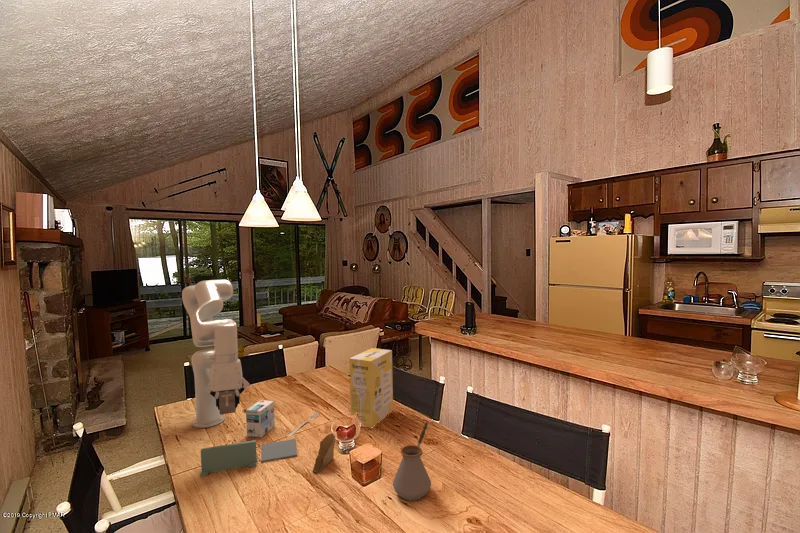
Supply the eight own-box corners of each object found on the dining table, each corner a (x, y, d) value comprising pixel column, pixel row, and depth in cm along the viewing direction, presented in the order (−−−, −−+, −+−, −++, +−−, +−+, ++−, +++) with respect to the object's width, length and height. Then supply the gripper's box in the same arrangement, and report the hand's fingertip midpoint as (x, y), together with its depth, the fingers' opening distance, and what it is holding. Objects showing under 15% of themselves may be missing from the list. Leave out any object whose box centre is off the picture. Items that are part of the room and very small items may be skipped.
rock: (320, 471, 120) (345, 455, 127) (308, 446, 123) (333, 431, 130) (308, 478, 127) (332, 462, 134) (297, 454, 130) (321, 440, 137)
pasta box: (373, 407, 175) (371, 348, 173) (393, 411, 170) (391, 350, 169) (351, 424, 158) (349, 358, 157) (372, 428, 154) (370, 361, 152)
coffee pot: (424, 509, 105) (423, 456, 104) (386, 499, 109) (385, 449, 109) (444, 468, 125) (444, 423, 124) (412, 461, 129) (411, 418, 129)
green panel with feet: (203, 470, 126) (202, 446, 126) (257, 460, 132) (256, 438, 131) (200, 476, 123) (199, 452, 122) (256, 466, 128) (255, 443, 127)
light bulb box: (261, 438, 148) (260, 411, 147) (246, 436, 149) (245, 409, 149) (275, 425, 158) (274, 400, 158) (261, 424, 160) (260, 399, 159)
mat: (262, 445, 142) (262, 444, 142) (295, 440, 145) (295, 438, 145) (261, 462, 130) (261, 460, 130) (297, 456, 134) (297, 454, 134)
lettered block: (221, 408, 138) (220, 386, 137) (236, 406, 139) (235, 385, 139) (219, 415, 132) (218, 392, 132) (234, 413, 134) (234, 390, 133)
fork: (279, 440, 146) (279, 436, 146) (314, 414, 169) (314, 411, 169) (286, 442, 145) (286, 437, 145) (320, 415, 168) (320, 412, 168)
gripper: (197, 363, 129) (199, 414, 130) (251, 358, 134) (252, 407, 135) (202, 357, 136) (204, 406, 137) (252, 352, 141) (253, 399, 142)
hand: (228, 406), depth 136 cm, fingers closed on lettered block, 5 cm apart
